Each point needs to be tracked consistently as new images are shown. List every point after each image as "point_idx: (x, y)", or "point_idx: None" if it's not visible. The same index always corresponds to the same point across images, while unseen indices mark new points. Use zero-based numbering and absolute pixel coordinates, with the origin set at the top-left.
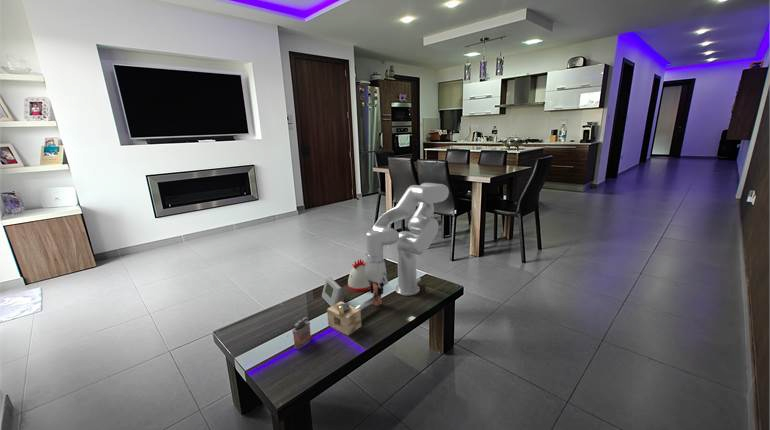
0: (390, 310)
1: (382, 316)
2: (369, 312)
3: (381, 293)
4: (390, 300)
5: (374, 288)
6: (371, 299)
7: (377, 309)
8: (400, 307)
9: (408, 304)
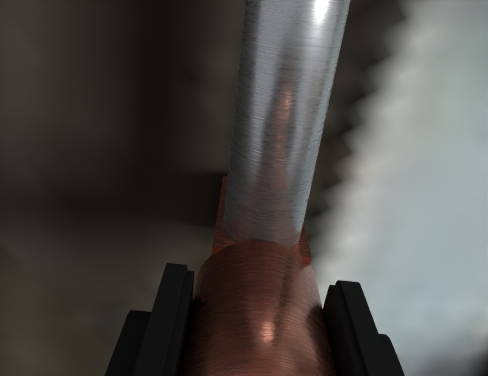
0: (57, 178)
1: (32, 16)
2: (242, 11)
3: (128, 320)
4: None
5: (260, 373)
6: (258, 143)
7: (196, 126)
8: (19, 268)
9: (2, 334)
